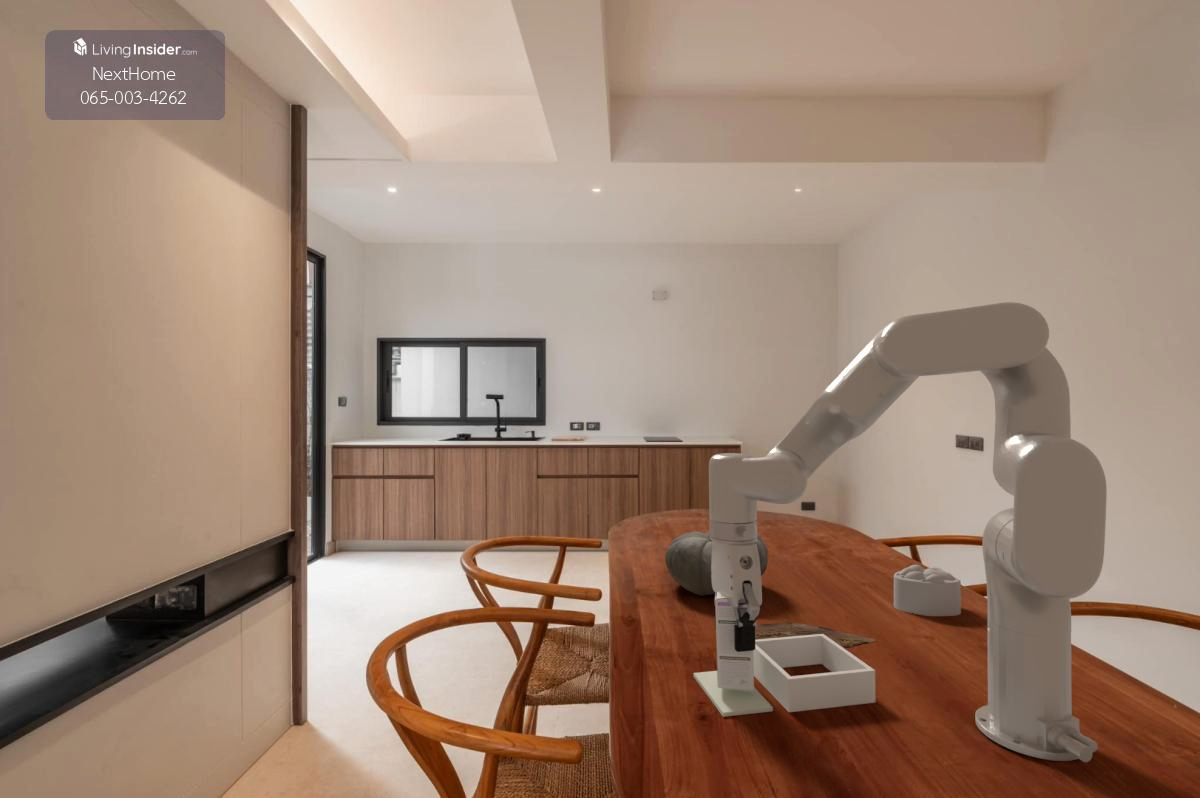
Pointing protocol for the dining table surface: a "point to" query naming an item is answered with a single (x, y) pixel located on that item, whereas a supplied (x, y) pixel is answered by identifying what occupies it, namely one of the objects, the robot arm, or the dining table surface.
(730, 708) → the mat
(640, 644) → the dining table surface
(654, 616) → the dining table surface
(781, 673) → the square frame
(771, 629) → the wooden fragment
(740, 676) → the syrup box
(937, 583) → the lumpy-topped squat cylinder
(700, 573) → the gourd
